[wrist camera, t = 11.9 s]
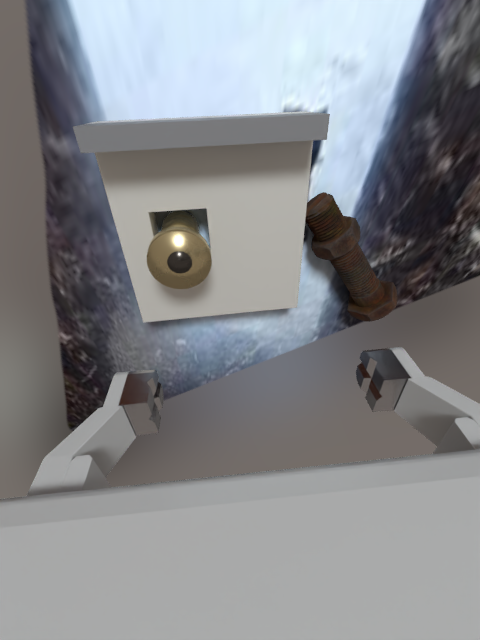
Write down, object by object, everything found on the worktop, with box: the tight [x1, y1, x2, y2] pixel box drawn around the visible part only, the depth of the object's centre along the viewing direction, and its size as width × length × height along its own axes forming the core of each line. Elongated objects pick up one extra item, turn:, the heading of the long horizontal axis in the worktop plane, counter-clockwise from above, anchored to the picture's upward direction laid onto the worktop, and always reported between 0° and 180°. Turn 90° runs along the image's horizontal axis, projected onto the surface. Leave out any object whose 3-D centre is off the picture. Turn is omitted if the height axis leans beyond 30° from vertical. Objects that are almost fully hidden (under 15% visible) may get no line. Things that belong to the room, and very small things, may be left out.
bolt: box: [305, 193, 397, 321], centre depth 32 cm, size 6×5×15 cm
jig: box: [73, 112, 330, 322], centre depth 28 cm, size 17×18×6 cm
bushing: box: [147, 211, 212, 289], centre depth 27 cm, size 5×5×7 cm
